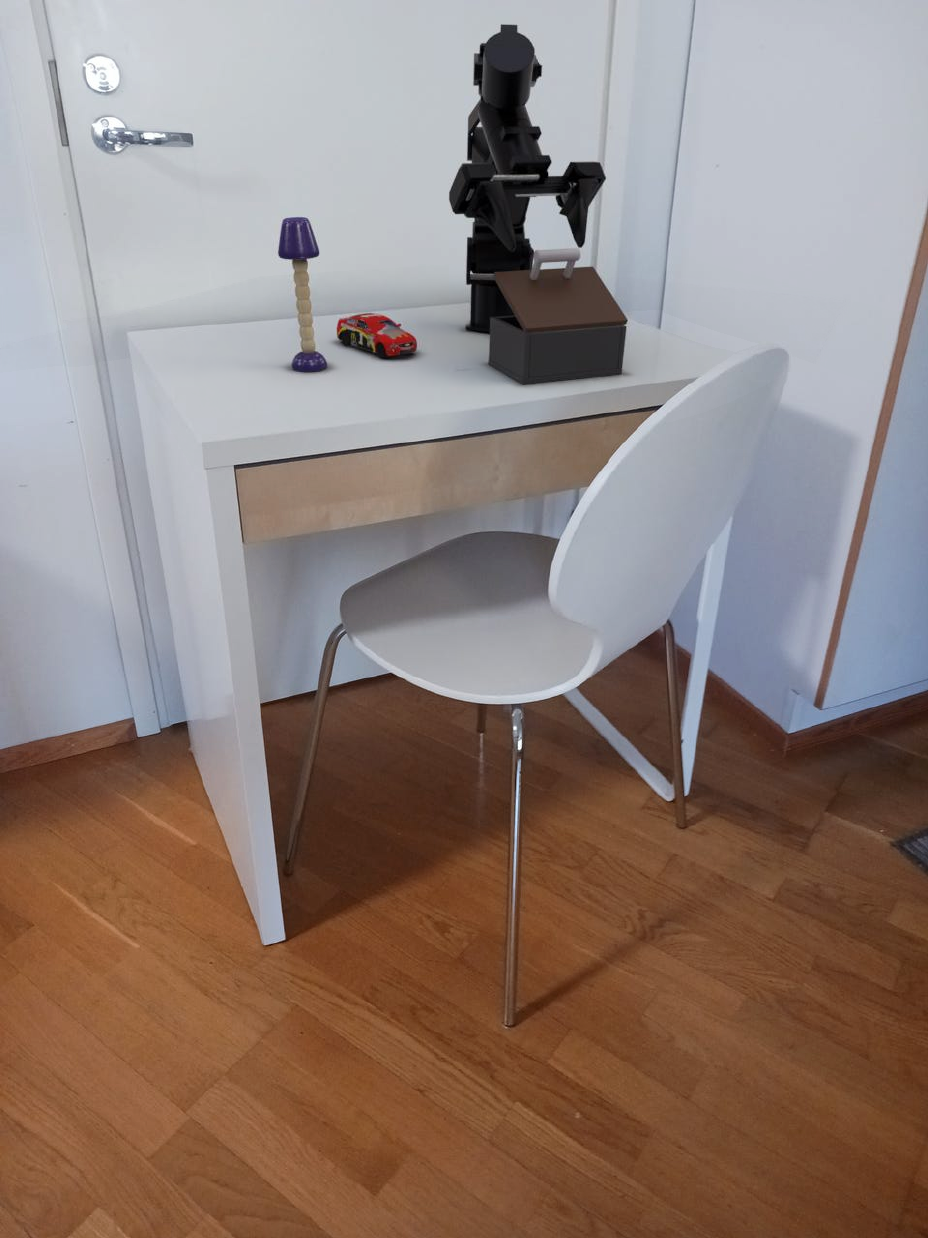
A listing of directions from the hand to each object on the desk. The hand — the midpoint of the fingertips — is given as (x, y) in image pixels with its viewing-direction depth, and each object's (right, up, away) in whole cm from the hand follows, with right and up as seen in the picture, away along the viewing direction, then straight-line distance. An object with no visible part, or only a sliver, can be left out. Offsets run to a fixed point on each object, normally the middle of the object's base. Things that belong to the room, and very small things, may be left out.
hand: (548, 247), depth 112 cm
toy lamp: (-29, -14, +2) cm, 32 cm away
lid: (+1, -6, 0) cm, 7 cm away
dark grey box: (+1, -13, +4) cm, 14 cm away
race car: (-21, -9, +11) cm, 26 cm away
